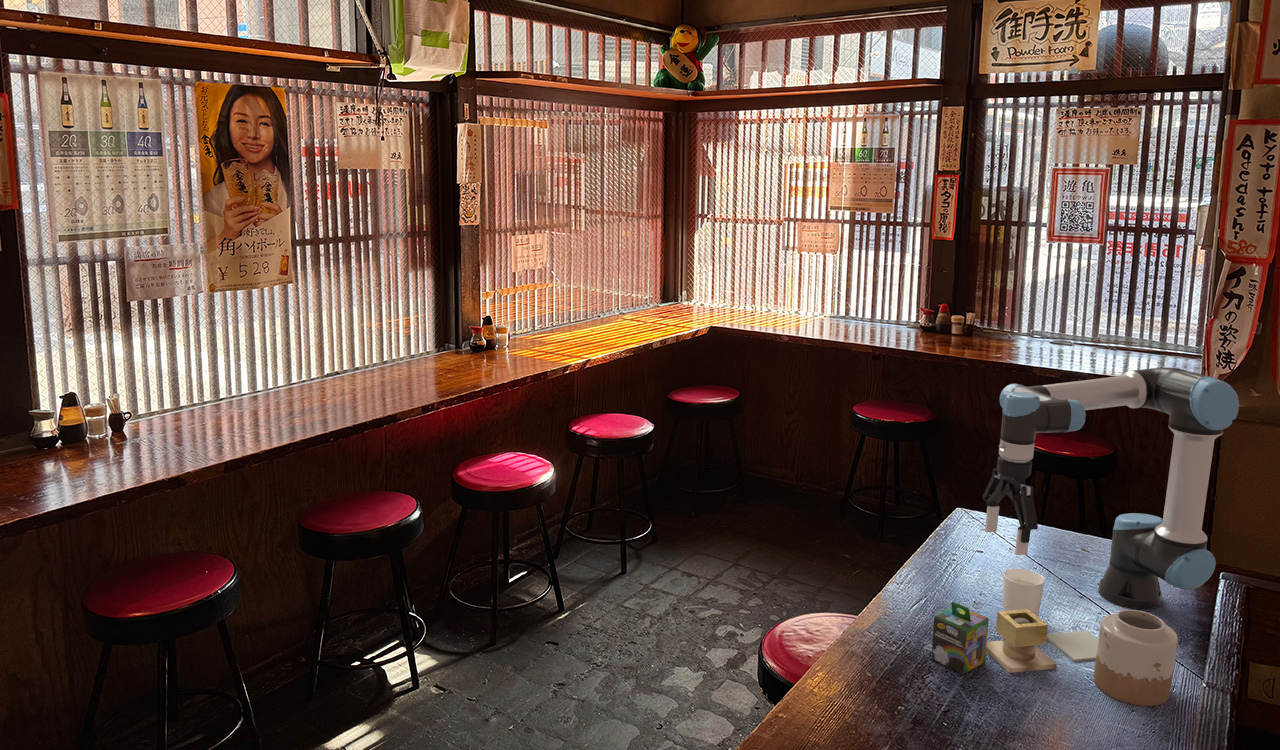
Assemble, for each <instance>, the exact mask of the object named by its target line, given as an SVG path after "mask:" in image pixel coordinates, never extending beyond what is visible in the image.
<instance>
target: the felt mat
mask: <svg viewBox="0 0 1280 750" xmlns="http://www.w3.org/2000/svg"><path fill="white" fill-rule="evenodd" d="M1098 639H1099V637H1097V636H1095V635H1094V634H1093V633H1091V632H1090V631H1089V630H1079V631H1077V630H1076V631H1067V632H1055V633H1047V638H1046V641H1049V643H1051V645H1053V646H1054V647H1056V648H1057V649H1058V650H1059V651H1061V652H1062V653H1063V654H1064V655H1065V656H1067V657H1068V658H1069V659H1070V660H1071V661H1073V662H1074V663H1075V662H1084V661H1096V654H1097V646H1098Z"/></svg>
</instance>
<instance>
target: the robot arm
mask: <svg viewBox="0 0 1280 750" xmlns="http://www.w3.org/2000/svg"><path fill="white" fill-rule="evenodd" d="M999 404H1000V406H1001V408H1002V418H1001V427H1000V428H1001V429H1000V438H999V440H1000V441H999V445H998V448H999V449H998V455H999V456H998V457H997V462H996V463H997V464H996V468H993V469H992V474H991V477H990V480H989V481H988V484H987V486H986V488H985V490H984V492H983V494H982V496H981V497H982V498H981V499H982V500H983V501H985V505H986V506H987V507H986V515H985V516H986V518H985V526H984V532H985V533H997V531H998V530H997V529H998V524H999V523H998V522H999V516H1000V515H999V512H1000V505H1001V503H1000V502H1001V501H1002V499H1004V497H1005V496H1006V495H1007V496H1008V497H1009V498H1010V501H1011V502H1012V503H1013V506H1014V509H1015V513H1016V516H1017V520H1018V523H1019V526H1018V527H1017V531H1016V540H1015V547H1014V549H1015V550H1014V554H1015V555H1016V556H1025V555H1028V553H1029V552H1028V550H1029V545H1030V539H1031V531H1033V530H1034V531H1035V530H1038V529H1039V526H1038V518H1037V512H1036V505H1035V499H1034V492H1035V491H1034V490H1035V489H1034V486H1033V485H1026V479H1027V478H1029V477H1030V476H1031V474H1032V468H1033V467H1032V465H1033V461H1032V460H1033V459H1034V453H1035V444H1036V443H1035V442H1036V436H1037V434H1044V433H1045V434H1048V433H1049V434H1050V433H1051V434H1052V433H1069V432H1075V431H1076V432H1077V431H1078V430H1081V429H1082V427H1084V425H1085V422H1086V416H1087V413H1086V411H1089V410H1098V409H1107V408H1115V407H1116V408H1117V407H1122V406H1126V407H1128V408H1130V409H1140V408H1145V409H1150V410H1155V411H1158V412H1160V413H1165V414H1167V415H1169V418H1168V419H1169V420H1168V428H1169V430H1170V431H1171V432H1172V433H1173V441H1172V447H1171V457H1170V464H1169V471H1168V478H1167V479H1168V481H1167V485H1166V486H1167V487H1166V495H1165V502H1164V509H1163V516H1162V517H1163V518H1162V517H1160V516H1157V515H1153V514H1148V513H1135V512H1132V513H1123V514H1122V513H1121V514H1119V515H1118V516H1116V518H1115V520H1114V525H1113V528H1112V536H1111V543H1110V544H1111V547H1110V552H1109V553H1110V554H1109V562H1108V566H1107V568H1106V570H1105V571H1104V574H1103V576H1102V578H1101V579H1100V580H1099V583H1098V590H1097V591H1098V593H1099V595H1100V596H1101V597H1102V598H1104V599H1105V600H1106V601H1109V602H1110V603H1113V604H1115V605H1117V606H1118V605H1119V606H1122V607H1127V608H1130V609H1135V610H1148V609H1155V608H1157V607H1159V606H1160V605H1161V604H1162V595H1163V594H1162V591H1161V586H1160V585H1161V584H1160V581H1159V579H1160V580H1163V581H1164V582H1166V583H1167V584H1168V585H1170V586H1174V587H1175V588H1178V589H1180V590H1184V591H1191V590H1195V589H1197V588H1199V587H1201V586H1202V585H1204V584H1205V583H1206V582H1207V581H1208V580H1209V579H1210V578H1211V577H1212V575H1213V573H1214V571H1215V569H1216V564H1217V563H1216V558H1215V556H1214V555H1213V553H1212V552H1211V551H1209V550H1208V549H1207V545H1208V544H1207V543H1208V536H1207V534H1206V533H1205V532H1204V530H1202V529H1203V523H1204V515H1205V508H1206V501H1207V496H1208V495H1207V493H1208V488H1209V482H1210V481H1209V480H1210V472H1211V468H1212V467H1211V466H1212V461H1213V460H1212V459H1213V454H1214V453H1213V452H1214V446H1215V440H1216V439H1217V438H1219V437H1220V436H1222V435H1223V434H1224V430H1225V429H1227V428H1228V427H1230V426H1231V425H1232V424H1233V420H1234V421H1235V420H1236V419H1237V417H1238V414H1239V409H1240V408H1239V407H1240V402H1239V396H1238V394H1237V392H1236V391H1235V389H1233V387H1232V386H1231V385H1230V384H1229V383H1227V382H1226V381H1223V380H1220V379H1218V378H1216V377H1213V376H1209V375H1205V374H1201V373H1197V372H1193V371H1188V370H1185V369H1182V368H1180V367H1166V366H1165V367H1164V366H1163V367H1154V368H1153V367H1152V368H1145V369H1136V370H1127V371H1125V372H1123V374H1121V375H1119V376H1118V375H1117V376H1110V377H1100V378H1094V379H1085V380H1084V379H1083V380H1078V381H1076V380H1075V381H1069V382H1068V381H1067V382H1060V383H1051V384H1043V385H1033V386H1031V385H1030V386H1025V385H1023V384H1021V383H1020V384H1018V383H1010V384H1008V385H1006V386H1005V387H1004V388H1003V389H1002V390H1001V392H1000V395H999ZM1160 603H1161V604H1160Z"/></svg>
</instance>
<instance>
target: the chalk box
mask: <svg viewBox="0 0 1280 750" xmlns="http://www.w3.org/2000/svg"><path fill="white" fill-rule="evenodd" d="M950 603H951V604H950V605H951V607H949V608H945V609H944V610H942V611H941V612H939V613H938V614H935V615H934V616H933V629H932V642H931V643H932V644H931V645H932V646H931V660H933V661H936V662H937V663H939V664H941V665H943V666H945V667H948V668H949V669H951V670H953V671H955V672H957V673H959V674H961V675H965V674H967V673H968V672H971V671H972V670H974V669H976V668H977V667H979V666H981V665H983V664H984V663H986V658H987V652H986V648H987V642H988V632H989V619H990V618H989V617H987V616H985V615H983V614H980V613H978V612H975V611H972V610H970V608H969V607H967V606H964V605H963V604H960V603H957V602H955V601H951V602H950Z"/></svg>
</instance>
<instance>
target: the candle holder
mask: <svg viewBox="0 0 1280 750" xmlns="http://www.w3.org/2000/svg"><path fill="white" fill-rule="evenodd" d="M1045 583H1046V579H1045V577H1044V576H1043V575H1042V574H1040V573H1038V572H1035V571H1033V570H1030V569H1026V568H1025V569H1024V568H1009V569H1006V570H1005V571H1004V572H1003V588H1002V611H1010V610H1022V609H1029V610H1030V611H1031V612H1032V613H1034V614H1035V615H1036V616H1037V617H1039V615H1040V609H1041V604H1042V599H1043V595H1044V594H1043V593H1044V588H1045Z"/></svg>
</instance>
